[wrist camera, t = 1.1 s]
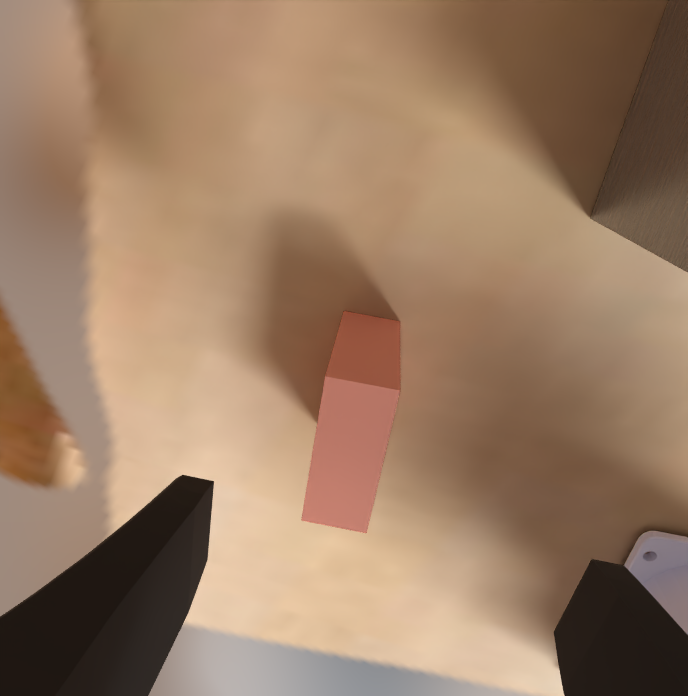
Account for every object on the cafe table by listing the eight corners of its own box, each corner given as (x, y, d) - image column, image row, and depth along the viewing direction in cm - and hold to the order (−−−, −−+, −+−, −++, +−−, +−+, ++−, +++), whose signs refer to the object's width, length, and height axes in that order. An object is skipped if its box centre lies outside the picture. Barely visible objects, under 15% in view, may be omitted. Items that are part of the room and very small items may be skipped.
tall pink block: (373, 438, 20) (366, 533, 16) (323, 429, 20) (301, 520, 16) (400, 320, 18) (400, 390, 14) (343, 310, 18) (325, 376, 14)
